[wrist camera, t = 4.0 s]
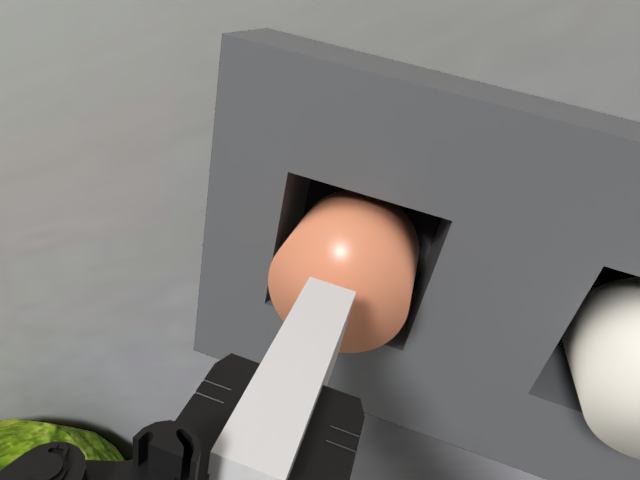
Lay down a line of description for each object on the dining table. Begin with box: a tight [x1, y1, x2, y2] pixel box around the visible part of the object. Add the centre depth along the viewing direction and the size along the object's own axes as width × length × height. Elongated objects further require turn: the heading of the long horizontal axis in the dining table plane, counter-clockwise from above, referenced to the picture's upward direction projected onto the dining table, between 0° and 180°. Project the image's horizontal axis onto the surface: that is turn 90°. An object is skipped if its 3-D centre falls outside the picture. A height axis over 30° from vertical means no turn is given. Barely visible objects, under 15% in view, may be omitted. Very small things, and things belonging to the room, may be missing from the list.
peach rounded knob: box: [268, 190, 419, 353], centre depth 18 cm, size 5×5×4 cm
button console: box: [194, 28, 640, 480], centre depth 18 cm, size 34×14×4 cm, turn 78°
